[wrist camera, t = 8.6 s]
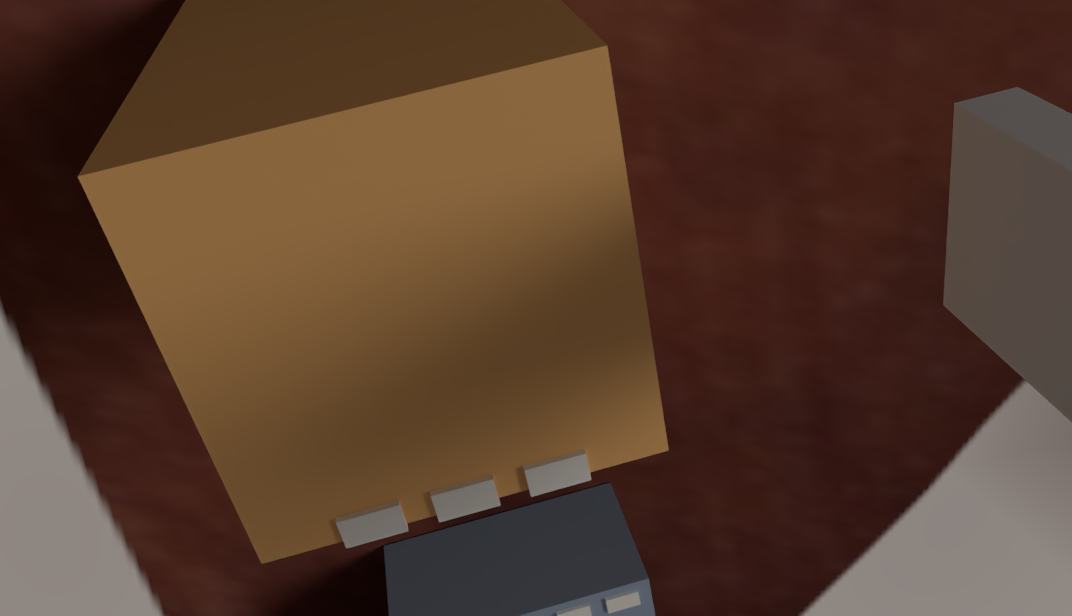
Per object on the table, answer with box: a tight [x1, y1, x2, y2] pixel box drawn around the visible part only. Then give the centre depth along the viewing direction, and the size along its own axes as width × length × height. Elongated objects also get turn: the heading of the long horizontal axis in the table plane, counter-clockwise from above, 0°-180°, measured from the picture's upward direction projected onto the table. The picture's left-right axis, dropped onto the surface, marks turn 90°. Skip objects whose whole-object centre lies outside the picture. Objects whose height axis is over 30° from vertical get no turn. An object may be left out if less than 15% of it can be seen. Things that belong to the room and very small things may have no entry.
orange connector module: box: [78, 0, 668, 564], centre depth 17 cm, size 6×6×11 cm
